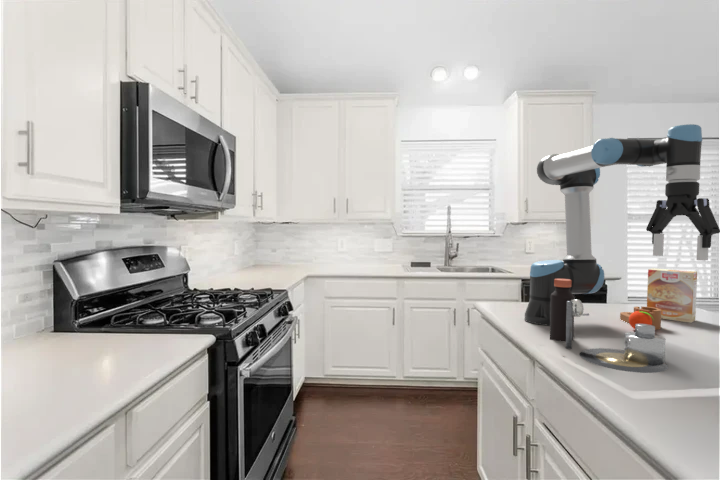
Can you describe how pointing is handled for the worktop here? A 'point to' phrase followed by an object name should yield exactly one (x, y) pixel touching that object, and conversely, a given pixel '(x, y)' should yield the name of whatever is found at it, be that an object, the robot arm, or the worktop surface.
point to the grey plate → (619, 361)
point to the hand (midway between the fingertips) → (678, 257)
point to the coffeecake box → (673, 293)
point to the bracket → (652, 311)
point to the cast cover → (644, 345)
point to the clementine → (640, 318)
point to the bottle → (560, 309)
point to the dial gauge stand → (574, 310)
